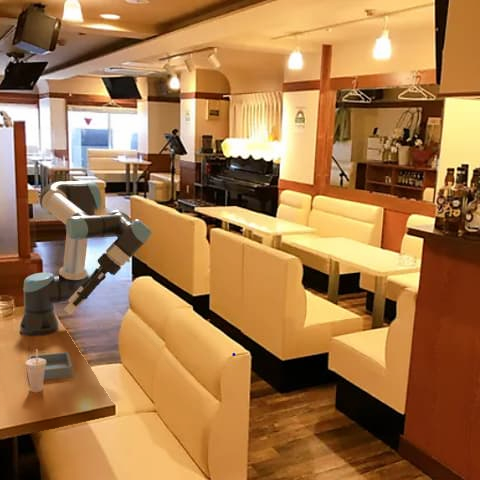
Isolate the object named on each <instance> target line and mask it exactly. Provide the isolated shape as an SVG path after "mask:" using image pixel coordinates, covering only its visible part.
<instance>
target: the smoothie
mask: <svg viewBox="0 0 480 480" xmlns="http://www.w3.org/2000/svg"><path fill="white" fill-rule="evenodd" d="M35 355H36V358H33V359H29V360H28V359H27V360H26V361H25V367H26V370H27V376H28V383H29V390H30V392H31V393H39V392H41V391H43V388H44V381H45V380H44V372H45V365H46V360H45V359H43V358H38V355H39V349H38V348H36V349H35Z"/></svg>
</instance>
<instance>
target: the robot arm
mask: <svg viewBox="0 0 480 480" xmlns="http://www.w3.org/2000/svg"><path fill="white" fill-rule="evenodd" d="M40 191H41V192H40V193H39V197H38V201H39V202H38V203H39V205H40V207H41V209H42V210H43V211H45V213H47V214H49V215H53V216H54V217H56V218H57V219H58V220H59V221H61V222H62V223H63V224H64V225H65V232H66V234H65V235H66V236H65V237H66V238H65V245H64V246H65V247H64V253H63V255H64V256H63V266H62V267H60V268H59V270H58V274H57V275H54V274H53V273H52V272H48V271H47V272H38V273H33V274H31V275H28V276H27V277H26V278H25V279H24V281H23V288H22V290H23V309H24V312H23V316H22V318H21V321H20V325H19V331H20V333H21V334H24V335H26V336H33V337H34V336H46V335H50V334H54V333H55V332H57V331H58V330H59V322H58V319H57V316H56V313H55V307H54V306H55V305H57V304H63V303H68V304H67V305H66V306H65V307H64V309H63V311H65V312H66V313H67V314H68V315H69V316H70V315H72V314H73V313H74V312H75V311H76V310H77V309H78V308H79V306H80V305H82V303H83V302H84V301H85V300H87V299H88V297H89V296H90V295H91V294H92V293H93V292H94V290H95V289H96V288H97V287H98V286H99V285H100V284H101V282H103V281H104V280H105V279H106V278H107V277H106V276H107V274H108V273H109V274H110V275H112V276H115V275H116V274H118V272H119V271H120V270H121V268H122V267H121V266H124V265H125V264H126V263H130V262H131V260H130V259H131V258H132V257H133V256H134V255H135V254H136V253H137V251H138V250H140V248H141V247H143V245H144V244H145V243H147V241H148V240H149V238H150V237H151V236H152V234H153V232H152V231H153V230H151V228H149V226H147V225H146V224H145V223H144V222H143V221H141V220H140V219H138V218H135V219H134V220H132V218H130V216H129V215H128V214H127V213H125V212H124V211H122V210H121V209H113V210H112V211H109V212H108V213H107V214H103V215H102V214H100V215H99V214H96V215H95V213H96V211H99V210H101V208H102V203H103V202H102V201H103V199H102V193H101V190H100V188H99V185H98V184H97V183H96V182H94V181H86V180H80V181H79V180H78V181H77V180H76V181H70V180H69V181H54V182H51V183H49V184H47V185H45V187H44V188H43V189H42V190H40ZM113 237H117V238H116V239H115V240H114V242H112V243H111V245H110V246H108V248H107V249H106V250H105V252H103V253H102V254H101V256H100V257H98V258H97V263H98V264H99V267H98V268H95V270H94V271H93V272H92V273H91V274H89V273H88V271H87V269H86V268H85V267H86V259H87V257H86V256H87V249H88V240H89V239H96V238H97V239H98V238H99V239H100V238H113Z"/></svg>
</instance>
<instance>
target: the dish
mask: <svg viewBox="0 0 480 480" xmlns="http://www.w3.org/2000/svg"><path fill="white" fill-rule="evenodd" d="M27 358H28V359H27V360H29V359H33V358H36V354H32V355H31V354H30V355H28V357H27ZM38 358H43V359H45V360H46V365H45V372H44V381H45V380H55V379H56V380H57V379H63V378H70V377H71V378H72V377H73V365H72V361H71V358H70V353H69V352H68V351H64V352H54V353H43V354H42V353H41V354H38Z"/></svg>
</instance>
